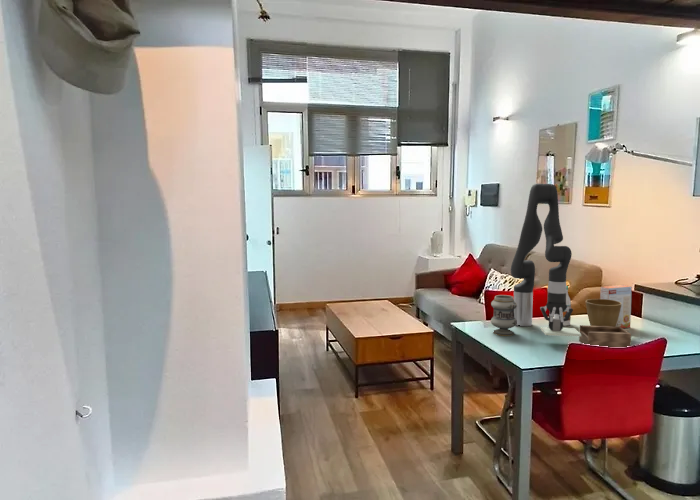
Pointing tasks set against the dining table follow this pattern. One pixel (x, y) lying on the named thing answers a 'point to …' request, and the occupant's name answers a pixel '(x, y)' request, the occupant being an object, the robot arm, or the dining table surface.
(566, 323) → the milk bottle
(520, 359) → the dining table surface
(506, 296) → the apothecary jar
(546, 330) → the lid
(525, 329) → the dining table surface
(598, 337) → the walnut box
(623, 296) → the cracker box
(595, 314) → the plant pot
